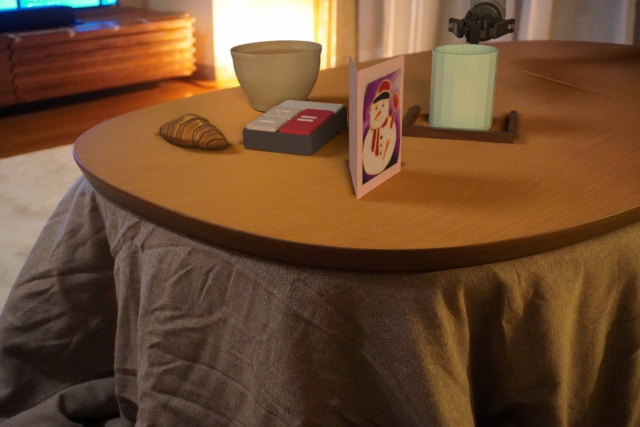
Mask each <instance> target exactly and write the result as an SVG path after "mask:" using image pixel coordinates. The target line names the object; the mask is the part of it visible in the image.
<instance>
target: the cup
mask: <svg viewBox="0 0 640 427" xmlns="http://www.w3.org/2000/svg"><path fill="white" fill-rule="evenodd" d="M499 58H500V49H499V48H498V47H496V46H492V45H486V44H469V43H450V44H440V45H437V46H434V47H432V51H431V68H430V85H429V86H430V89H429V110H428V125H429V127H443V128H458V129H474V130H489V131H490V129H491V128H492V127H493V121H494V113H495V112H494V111H495V102H496V91H497V81H498V71H499V70H498V69H499V60H500V59H499Z"/></svg>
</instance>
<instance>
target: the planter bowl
mask: <svg viewBox="0 0 640 427" xmlns="http://www.w3.org/2000/svg"><path fill="white" fill-rule="evenodd" d="M322 51H323V45H322V44H321V43H319V42H316V41H310V40H299V39H298V40H297V39H296V40H295V39H276V40H275V39H273V40H262V41H254V42H248V43H242V44H237V45H235V46H233V47H231V48H230V49H229V53H230V56H231V60H232V66H233V70H234V74H235V77H236V79H237V81H238V84H239V86H240V88H241V89H242V91H243V92H244V94H245V95H246V97H247V98H248V99H249V100H250V101H251V103H252V107H253V109H254V110H256V111H258V112H263V113H266V112H267V111H269V110H270V109H272V108H273V107H275V106H278V105H280V104H281V103H283V102H284V101H286V100H295V101H307V98H309V96H310V94H311V93H312V91H313V89H314V87H315V85H316V83H317V80H318V78H319V74H320V69H321V62H322V60H321V59H322V58H321V56H322Z"/></svg>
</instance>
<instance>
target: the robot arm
mask: <svg viewBox="0 0 640 427" xmlns="http://www.w3.org/2000/svg"><path fill="white" fill-rule="evenodd" d="M469 4H470V6H469V9H468V10H467V12H466V13H465V15H464V17H462V18H461V19H460V18H455V17H450V18H448V24H447V25H448V26H447V32H449V33H452V34H453V36H455V37H456V38H457V39H462V38H464V39H465V44H478V45H480V43H483V42H489V41H491V40H497V39H500V38H502V37H504V36H506V35H508V34H513V33H515V27H516V19H515V18H508V19H506V15H507V8H506V7H507V0H470V3H469Z"/></svg>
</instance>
